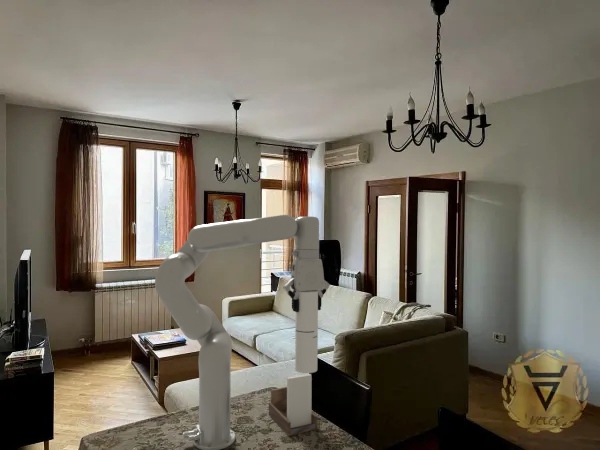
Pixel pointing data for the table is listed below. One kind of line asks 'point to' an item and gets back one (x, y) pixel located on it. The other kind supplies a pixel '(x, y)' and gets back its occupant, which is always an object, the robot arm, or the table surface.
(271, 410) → the brown wooden tray
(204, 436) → the robot arm
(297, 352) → the cylindrical container
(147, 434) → the table surface
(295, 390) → the block
